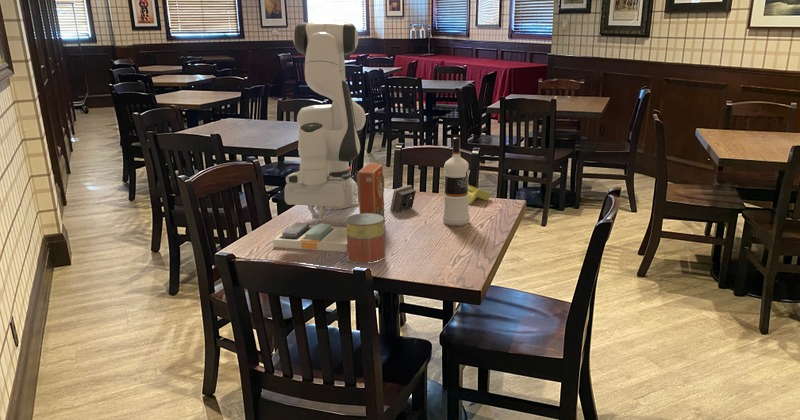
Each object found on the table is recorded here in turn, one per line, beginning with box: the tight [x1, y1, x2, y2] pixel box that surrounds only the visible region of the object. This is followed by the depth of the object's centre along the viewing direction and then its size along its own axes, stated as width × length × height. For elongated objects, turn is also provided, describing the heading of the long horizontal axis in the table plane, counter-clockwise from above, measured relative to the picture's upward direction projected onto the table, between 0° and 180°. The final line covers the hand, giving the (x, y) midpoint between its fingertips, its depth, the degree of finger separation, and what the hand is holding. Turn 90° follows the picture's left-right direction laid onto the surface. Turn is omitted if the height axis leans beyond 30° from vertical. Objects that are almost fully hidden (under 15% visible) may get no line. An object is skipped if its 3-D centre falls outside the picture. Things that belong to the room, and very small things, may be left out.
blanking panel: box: [305, 223, 332, 241], centre depth 193 cm, size 11×4×4 cm, turn 165°
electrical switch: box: [389, 184, 417, 214], centre depth 225 cm, size 9×5×9 cm, turn 138°
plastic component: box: [468, 184, 492, 206], centre depth 241 cm, size 20×7×10 cm
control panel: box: [356, 163, 386, 222], centre depth 203 cm, size 21×7×15 cm
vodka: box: [442, 136, 471, 227], centre depth 206 cm, size 9×9×30 cm
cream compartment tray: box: [272, 224, 348, 254], centre depth 193 cm, size 16×24×3 cm, turn 76°
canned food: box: [345, 213, 386, 264], centre depth 179 cm, size 11×11×12 cm
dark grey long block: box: [281, 222, 310, 240], centre depth 195 cm, size 11×4×4 cm, turn 166°
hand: (317, 218), depth 191 cm, fingers closed
